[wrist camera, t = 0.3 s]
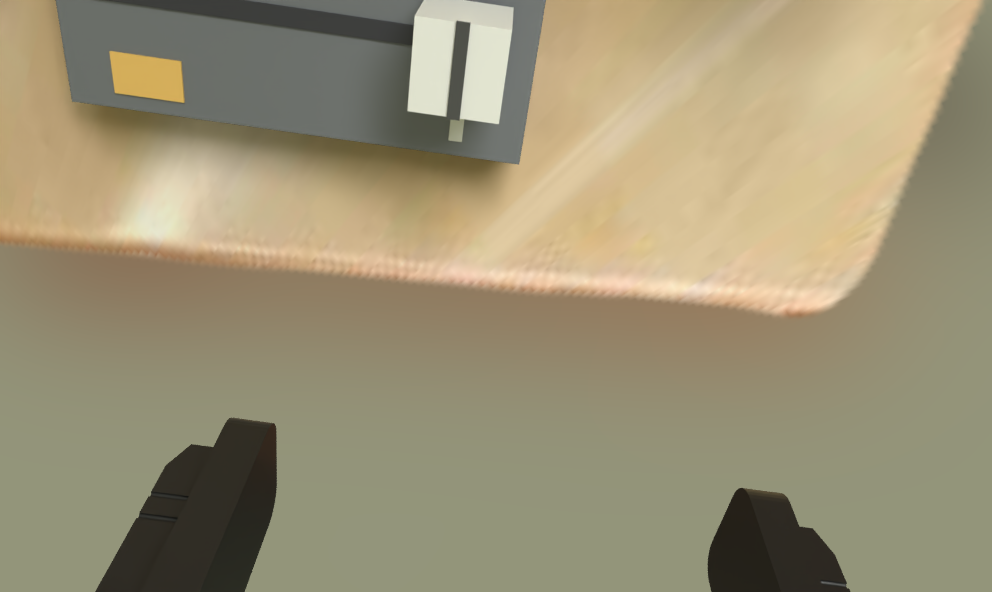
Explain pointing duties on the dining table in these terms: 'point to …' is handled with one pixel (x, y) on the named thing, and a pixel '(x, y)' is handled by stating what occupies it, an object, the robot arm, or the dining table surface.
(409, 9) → the fader slider base
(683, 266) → the dining table surface
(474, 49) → the fader knob
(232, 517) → the robot arm
